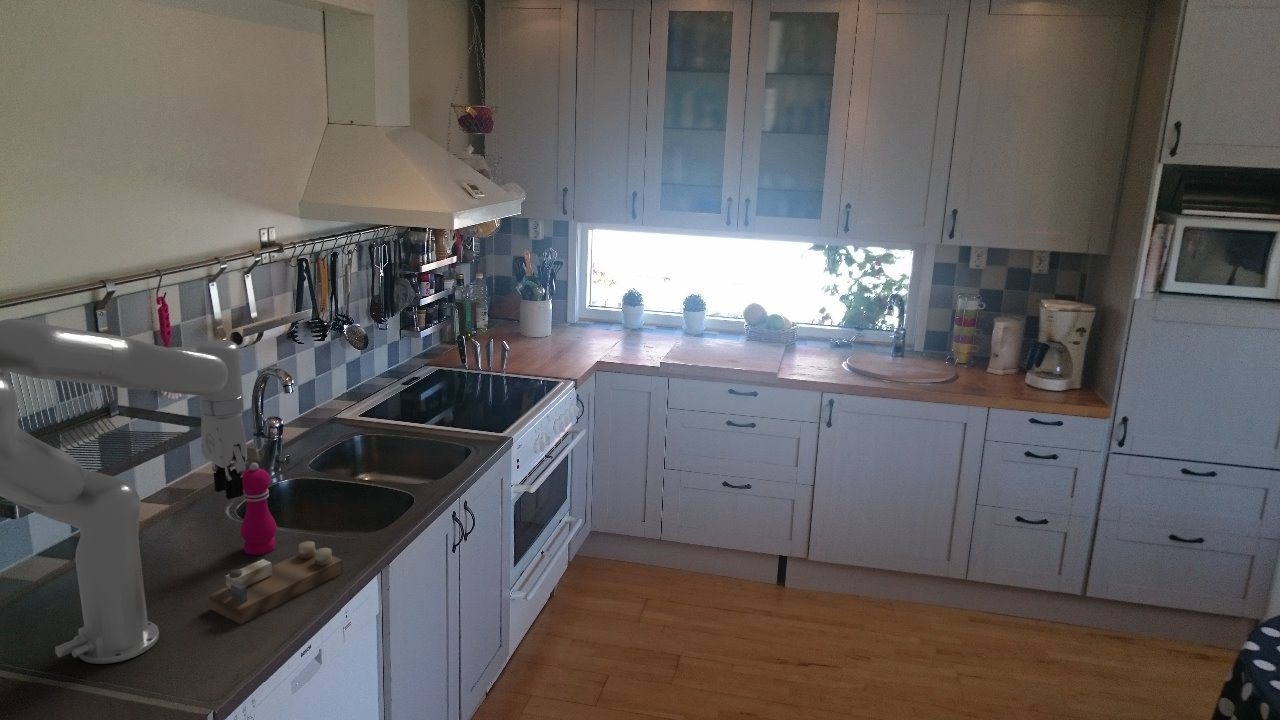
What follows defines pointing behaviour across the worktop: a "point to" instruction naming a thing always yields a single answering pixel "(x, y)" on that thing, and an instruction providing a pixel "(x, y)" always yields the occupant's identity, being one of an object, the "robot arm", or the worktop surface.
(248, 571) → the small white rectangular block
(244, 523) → the pepper mill
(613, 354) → the worktop surface
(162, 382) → the robot arm
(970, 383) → the worktop surface
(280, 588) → the rectangular wooden board
